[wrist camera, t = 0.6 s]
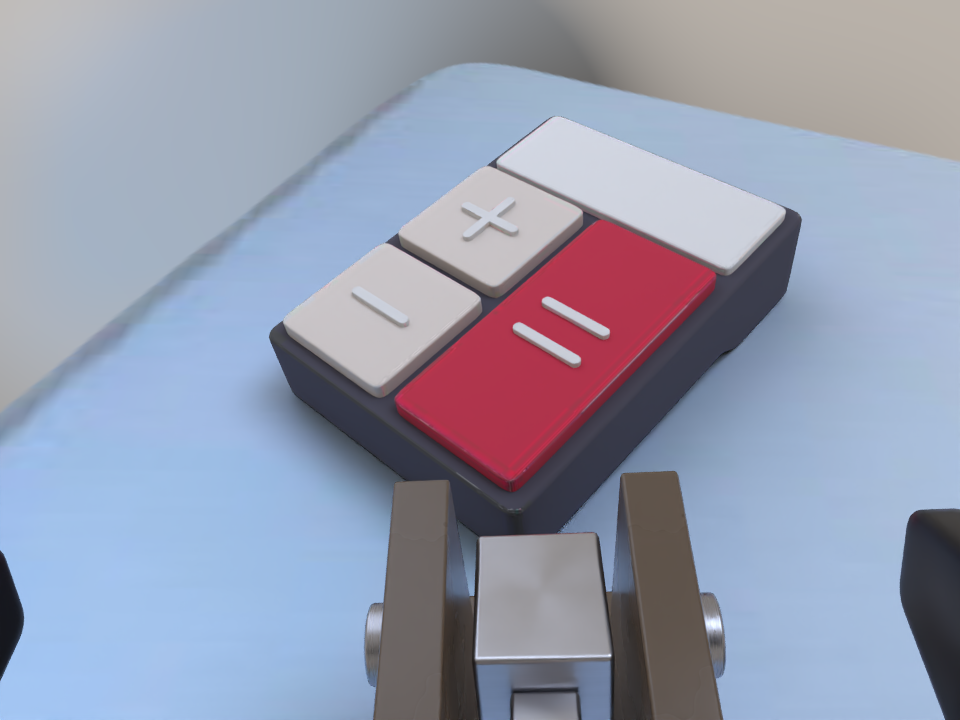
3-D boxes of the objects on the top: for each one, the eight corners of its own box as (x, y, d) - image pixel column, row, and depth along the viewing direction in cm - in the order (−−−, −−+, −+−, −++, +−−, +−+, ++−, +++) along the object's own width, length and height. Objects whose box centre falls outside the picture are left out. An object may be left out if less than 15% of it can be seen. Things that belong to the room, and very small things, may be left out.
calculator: (254, 317, 28) (553, 94, 34) (291, 400, 31) (558, 182, 37) (512, 504, 22) (812, 195, 28) (524, 581, 25) (791, 289, 32)
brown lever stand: (708, 1021, 18) (802, 919, 10) (416, 1022, 18) (314, 924, 11) (651, 610, 24) (686, 370, 17) (434, 617, 24) (377, 384, 17)
